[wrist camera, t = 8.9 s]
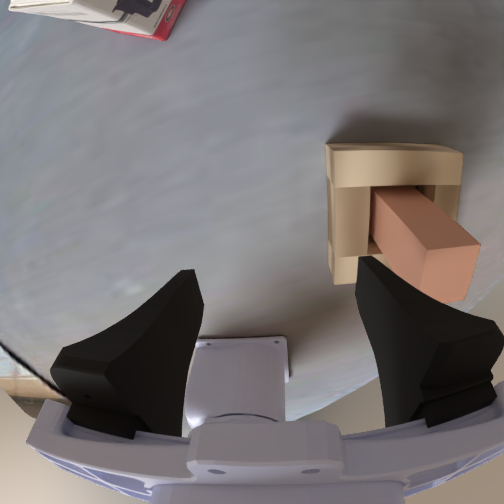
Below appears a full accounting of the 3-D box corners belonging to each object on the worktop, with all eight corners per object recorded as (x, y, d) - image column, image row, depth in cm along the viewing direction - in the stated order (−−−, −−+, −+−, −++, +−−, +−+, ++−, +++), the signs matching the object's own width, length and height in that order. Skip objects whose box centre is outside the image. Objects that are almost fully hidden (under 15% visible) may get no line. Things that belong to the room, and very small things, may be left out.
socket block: (328, 263, 24) (334, 285, 21) (325, 143, 19) (333, 151, 17) (430, 254, 23) (445, 272, 20) (443, 145, 18) (463, 153, 15)
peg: (366, 227, 22) (414, 308, 14) (367, 184, 20) (427, 250, 12) (405, 224, 22) (464, 299, 13) (408, 183, 20) (480, 244, 11)
